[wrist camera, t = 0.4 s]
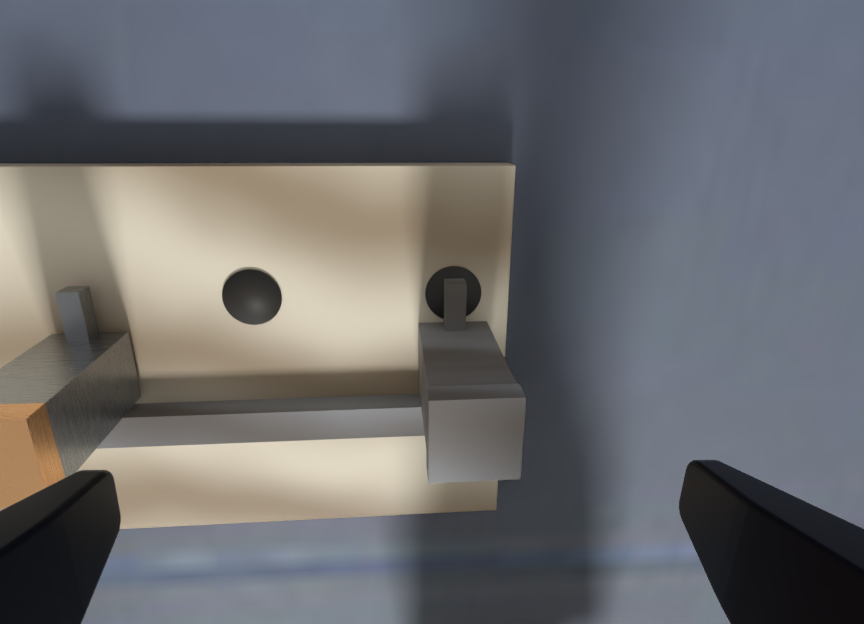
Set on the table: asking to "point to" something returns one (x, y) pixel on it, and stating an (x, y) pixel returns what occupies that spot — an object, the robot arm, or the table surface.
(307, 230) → the board
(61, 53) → the table surface
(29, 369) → the slider
